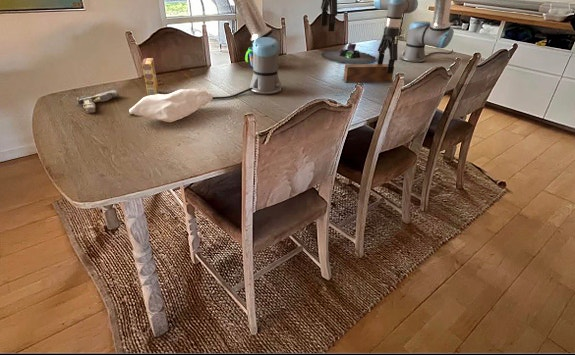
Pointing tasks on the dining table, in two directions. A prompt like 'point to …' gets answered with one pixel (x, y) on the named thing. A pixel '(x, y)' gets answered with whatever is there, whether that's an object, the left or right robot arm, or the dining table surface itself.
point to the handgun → (95, 100)
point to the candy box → (150, 76)
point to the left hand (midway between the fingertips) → (327, 28)
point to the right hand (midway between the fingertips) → (384, 69)
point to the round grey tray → (348, 55)
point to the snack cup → (250, 52)
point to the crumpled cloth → (171, 104)
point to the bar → (367, 73)
